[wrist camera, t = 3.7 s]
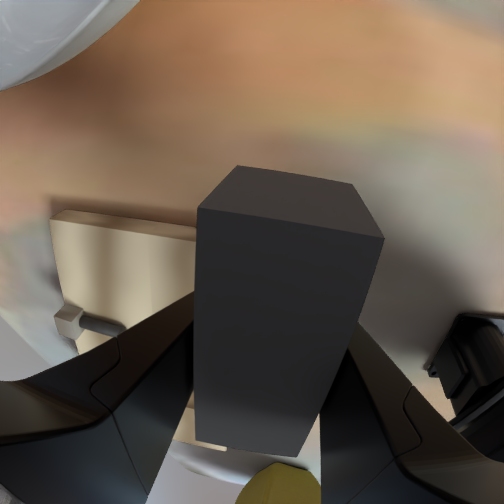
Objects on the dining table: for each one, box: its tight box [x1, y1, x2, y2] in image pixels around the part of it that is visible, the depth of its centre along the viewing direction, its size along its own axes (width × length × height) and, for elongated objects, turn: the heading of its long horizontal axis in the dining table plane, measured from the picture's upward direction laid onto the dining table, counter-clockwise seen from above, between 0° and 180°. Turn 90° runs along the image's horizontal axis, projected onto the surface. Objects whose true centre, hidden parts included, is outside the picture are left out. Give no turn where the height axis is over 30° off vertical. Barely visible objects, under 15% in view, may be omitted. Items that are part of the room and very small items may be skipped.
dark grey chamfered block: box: [194, 165, 385, 457], centre depth 8 cm, size 3×7×4 cm, turn 173°
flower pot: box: [235, 463, 321, 504], centre depth 29 cm, size 9×9×9 cm
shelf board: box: [49, 209, 227, 451], centre depth 24 cm, size 14×23×4 cm, turn 174°
